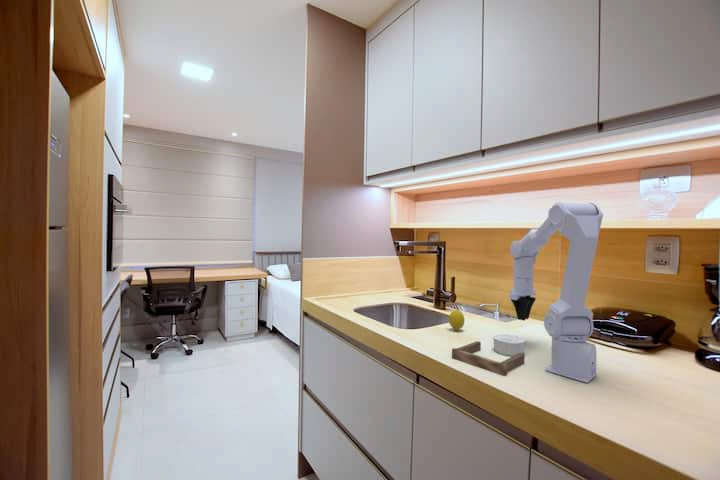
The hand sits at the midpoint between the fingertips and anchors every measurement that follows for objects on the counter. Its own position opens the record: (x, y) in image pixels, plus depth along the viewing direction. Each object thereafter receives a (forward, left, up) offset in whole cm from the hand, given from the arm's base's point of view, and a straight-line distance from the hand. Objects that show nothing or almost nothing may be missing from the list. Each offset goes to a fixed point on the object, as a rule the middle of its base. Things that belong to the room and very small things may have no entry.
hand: (523, 319), depth 105 cm
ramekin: (0, +10, -9) cm, 13 cm away
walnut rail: (0, +21, -8) cm, 23 cm away
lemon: (+23, +3, -9) cm, 25 cm away
